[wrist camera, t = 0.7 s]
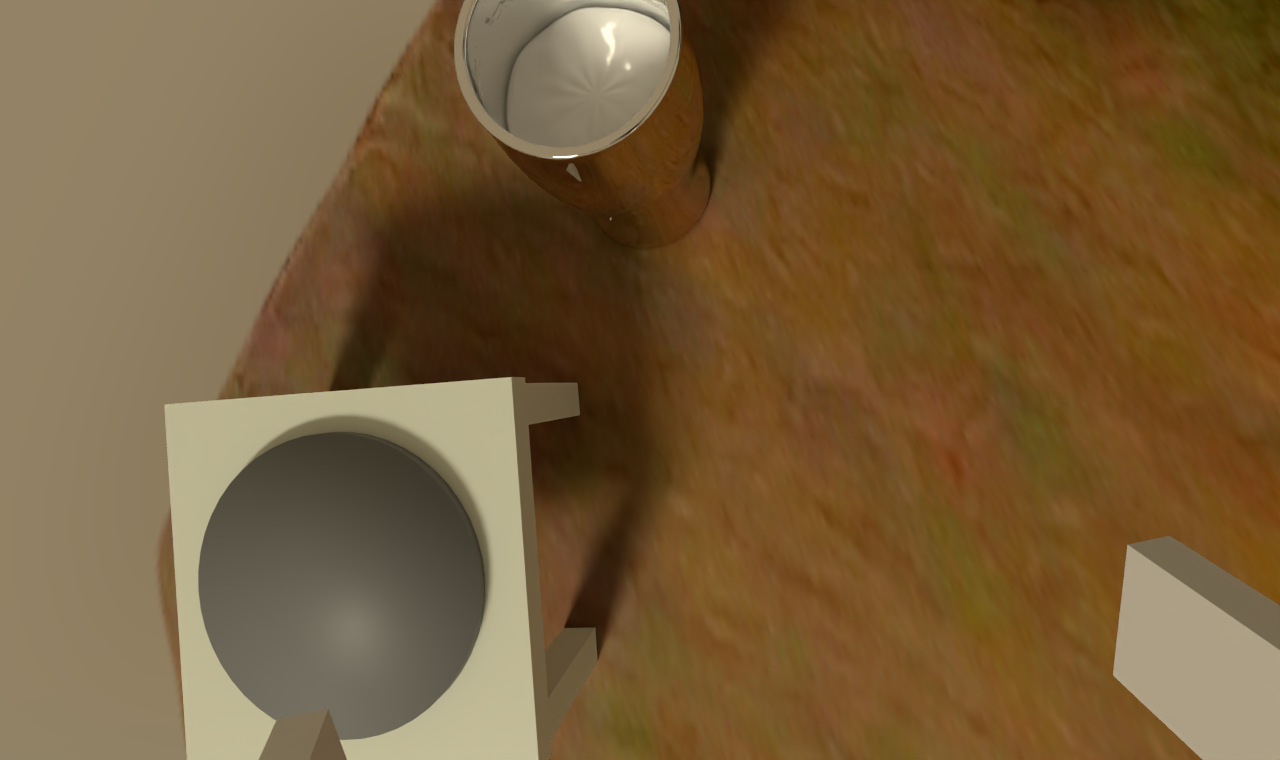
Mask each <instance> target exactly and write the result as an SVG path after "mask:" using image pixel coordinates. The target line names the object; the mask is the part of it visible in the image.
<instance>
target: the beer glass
mask: <svg viewBox="0 0 1280 760" xmlns="http://www.w3.org/2000/svg"><path fill="white" fill-rule="evenodd" d="M454 60H455V69H456V74H457V78H458V82H459V86H460V89H461V91H462V94H463V96H464V99H465V101H466V103H467V105H468V106H469V108H470V110H471V111H472V113H473V114H474V116H475V117H476V119H477V120H478V121H479V122H480V124H481V125H482V126H483V127H484V128H485V129H486V130H487V131H488V132H489V133H490V134H491V135H492V136H493V138H494V139H495V140H496V142H497V143H498V144H499V145H500V147H501V148H502V149H503V150H504V152H505V153H506V154H507V155H508V157H509V158H510V159H511V160H512V161H513V162H514V163H515V164H516V165H517V166H518V167H519V168H520V169H521V170H522V171H523V172H524V173H525V174H526V175H527V176H528V177H529V178H530V179H531V180H532V181H533V182H534V183H536V184H537V185H538V186H540V187H541V188H542V189H544V190H545V191H546V192H547V193H549V194H550V195H552V196H553V197H555V198H556V199H558V200H560V201H562V202H564V203H566V204H568V205H571V206H573V207H575V208H577V209H580V210H582V211H585V212H589V213H591V215H592V217H593V218H594V220H595V222H596V223H597V224H598V226H599V227H600V228H601V229H602V230H603V231H604V232H605V233H606V234H607V235H608V236H610V237H611V238H612V239H614V240H616V241H617V242H619V243H621V244H624V245H627V246H630V247H635V248H656V247H661V246H665V245H668V244H670V243H672V242H675V241H676V240H678V239H680V238H681V237H683V236H684V235H685V234H687V233H688V232H689V231H690V230H691V229H692V228H693V227H694V226H695V225H696V223H697V222H698V221H699V219H700V218H701V216H702V214H703V212H704V210H705V208H706V206H707V203H708V200H709V195H710V188H711V176H710V170H709V166H708V162H707V160H706V157H705V155H704V153H703V151H702V149H701V148H700V146H699V145H700V141H701V136H702V128H703V119H704V95H703V87H702V78H701V72H700V67H699V63H698V60H697V56H696V52H695V48H694V45H693V41H692V39H691V36H690V33H689V30H688V28H687V25H686V22H685V20H684V17H683V15H682V12H681V10H680V5H679V1H678V0H464V3H463V5H462V8H461V11H460V14H459V17H458V21H457V26H456V31H455V40H454Z"/></svg>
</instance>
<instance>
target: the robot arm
mask: <svg viewBox="0 0 1280 760" xmlns="http://www.w3.org/2000/svg"><path fill="white" fill-rule="evenodd" d="M1113 676H1114V677H1115V678H1116V679H1117V680H1118V681H1120V682H1121V683H1122V684H1123V685H1124V686H1125V687H1126V688H1127V689H1128V690H1129V691H1130V692H1131V693H1132V694H1133V695H1134V696H1135V697H1137V698H1138V699H1139V700H1140V701H1141V702H1142V703H1143V704H1144V705H1145V706H1146V707H1147V708H1148V709H1149V710H1150V711H1151V712H1153V713H1154V714H1155V715H1156V716H1157V717H1158V718H1159V719H1160V720H1161V721H1162V722H1163V723H1164V724H1165V725H1166V726H1167V727H1168V728H1170V729H1171V730H1172V731H1173V732H1174V733H1175V734H1176V735H1177V736H1178V737H1179V738H1180V739H1181V740H1182V741H1183V742H1184V743H1186V744H1187V745H1188V746H1189V747H1190V748H1191V749H1192V750H1193V751H1194V752H1195V753H1196V754H1197V755H1198V756H1199V757H1200V758H1201V759H1203V760H1280V605H1278V604H1277V603H1275V602H1273V601H1272V600H1270V599H1269V598H1267V597H1265V596H1264V595H1262V594H1261V593H1259V592H1258V591H1256V590H1254V589H1253V588H1251V587H1250V586H1248V585H1247V584H1245V583H1243V582H1242V581H1240V580H1239V579H1237V578H1235V577H1234V576H1232V575H1231V574H1229V573H1228V572H1226V571H1224V570H1223V569H1221V568H1220V567H1218V566H1217V565H1215V564H1213V563H1212V562H1210V561H1209V560H1207V559H1205V558H1204V557H1202V556H1201V555H1199V554H1198V553H1196V552H1194V551H1193V550H1191V549H1190V548H1188V547H1187V546H1185V545H1183V544H1182V543H1180V542H1179V541H1177V540H1175V539H1174V538H1172V537H1171V536H1167V537H1162V538H1157V539H1153V540H1148V541H1143V542H1138V543H1133V544H1128V545H1127V554H1126V563H1125V572H1124V581H1123V590H1122V599H1121V608H1120V617H1119V626H1118V635H1117V644H1116V653H1115V662H1114V671H1113ZM259 760H347V758H346V756H345V753H344V750H343V747H342V745H341V742H340V739H339V736H338V734H337V731H336V728H335V725H334V723H333V720H332V717H331V715H330V712H329V709H324V710H319V711H314V712H309V713H304V714H300V715H295V716H290V717H285V718H280V719H277V720H276V722H275V725H274V727H273V729H272V731H271V733H270V736H269V738H268V740H267V742H266V744H265V747H264V749H263V751H262V753H261V756H260V758H259Z"/></svg>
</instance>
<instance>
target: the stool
mask: <svg viewBox="0 0 1280 760" xmlns="http://www.w3.org/2000/svg"><path fill="white" fill-rule="evenodd" d="M164 406H165V422H166V436H167V437H166V438H167V452H168V469H169V484H170V500H171V516H172V531H173V547H174V562H175V578H176V594H177V609H178V625H179V640H180V656H181V672H182V687H183V703H184V718H185V734H186V749H187V760H259V758H260V756H261V753H262V751H263V749H264V747H265V744H266V742H267V740H268V738H269V736H270V733H271V731H272V729H273V727H274V725H275V722H276V720H277V719H280V718H285V717H290V716H295V715H300V714H304V713H309V712H314V711H319V710H324V709H329V712H330V715H331V717H332V720H333V723H334V725H335V728H336V731H337V734H338V736H339V739H340V742H341V745H342V747H343V750H344V753H345V756H346V758H347V760H549V759H550V757H551V755H552V747H551V740H552V738H553V736H554V735H555V733H556V731H557V730H558V728H559V726H560V724H561V723H562V721H563V719H564V718H565V716H566V714H567V712H568V711H569V709H570V707H571V705H572V704H573V702H574V700H575V699H576V697H577V695H578V693H579V692H580V690H581V688H582V686H583V685H584V683H585V681H586V680H587V678H588V676H589V674H590V673H591V671H592V669H593V668H594V666H595V664H596V662H597V661H598V657H597V643H596V630H595V627H592V628H563V630H562V631H561V632H560V633H559V635H558V636H557V637H556V638H555V640H554V641H553V642H552V643H551V645H550V646H549V647H548V648H547V650H546V651H545V649H544V635H543V621H542V607H541V593H540V579H539V565H538V551H537V537H536V523H535V509H534V495H533V481H532V467H531V453H530V439H529V425H530V424H536V423H541V422H546V421H552V420H557V419H562V418H568V417H573V416H578V415H580V409H579V395H578V383H525V377H506V378H494V379H481V380H468V381H456V382H443V383H430V384H418V385H405V386H393V387H380V388H367V389H355V390H342V391H329V392H317V393H304V394H292V395H279V396H266V397H254V398H241V399H228V400H216V401H204V402H192V403H178V404H167V405H164Z"/></svg>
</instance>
